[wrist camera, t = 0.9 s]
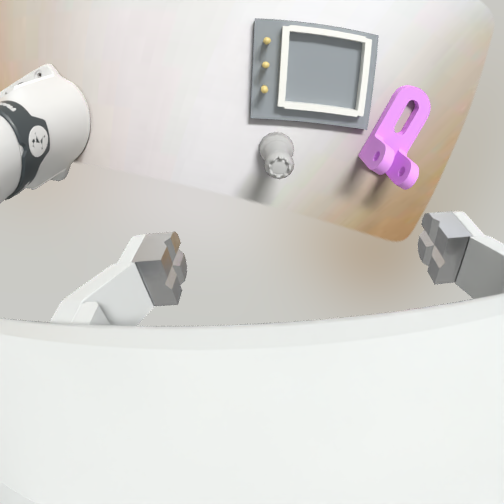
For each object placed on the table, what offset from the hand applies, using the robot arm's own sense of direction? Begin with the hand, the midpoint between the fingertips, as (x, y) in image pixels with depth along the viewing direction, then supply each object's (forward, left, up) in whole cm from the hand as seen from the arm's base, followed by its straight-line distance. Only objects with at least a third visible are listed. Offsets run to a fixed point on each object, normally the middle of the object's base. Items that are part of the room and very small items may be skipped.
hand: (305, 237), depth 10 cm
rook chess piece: (+1, -6, -32) cm, 32 cm away
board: (+5, +4, -31) cm, 32 cm away
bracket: (+17, -1, -32) cm, 36 cm away
